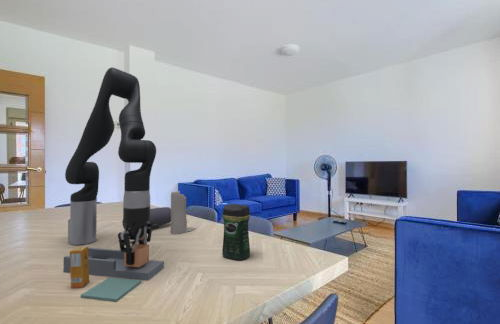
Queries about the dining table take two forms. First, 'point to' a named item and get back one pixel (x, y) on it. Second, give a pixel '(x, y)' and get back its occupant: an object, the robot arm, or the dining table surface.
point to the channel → (116, 265)
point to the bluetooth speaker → (157, 217)
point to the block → (139, 255)
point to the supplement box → (79, 267)
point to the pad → (111, 289)
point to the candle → (179, 214)
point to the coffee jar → (236, 231)
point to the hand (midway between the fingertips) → (136, 260)
